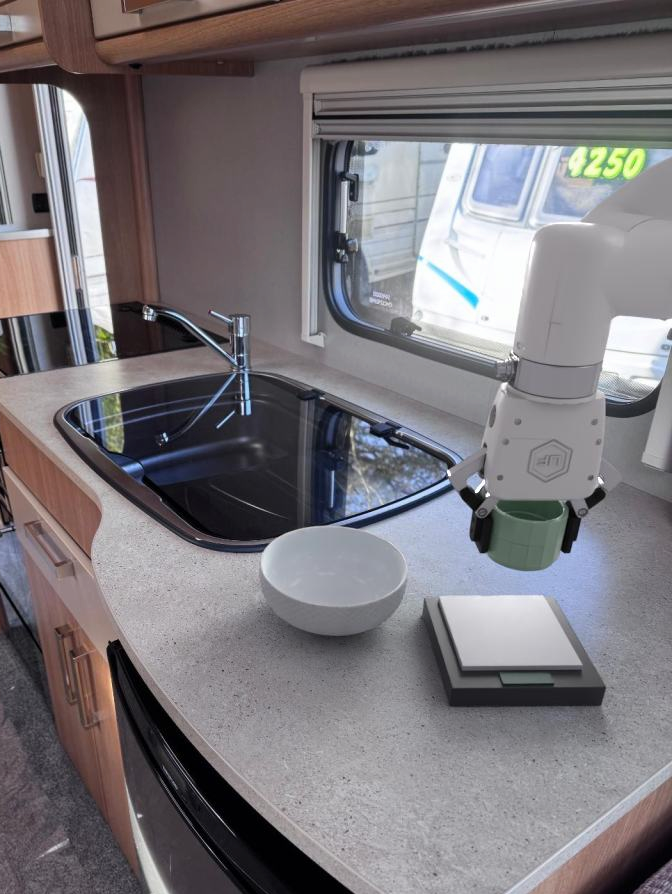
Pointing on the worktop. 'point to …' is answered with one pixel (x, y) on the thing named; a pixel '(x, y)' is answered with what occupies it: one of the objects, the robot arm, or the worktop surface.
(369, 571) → the cereal bowl
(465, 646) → the scale
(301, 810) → the worktop surface
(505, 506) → the small cup
